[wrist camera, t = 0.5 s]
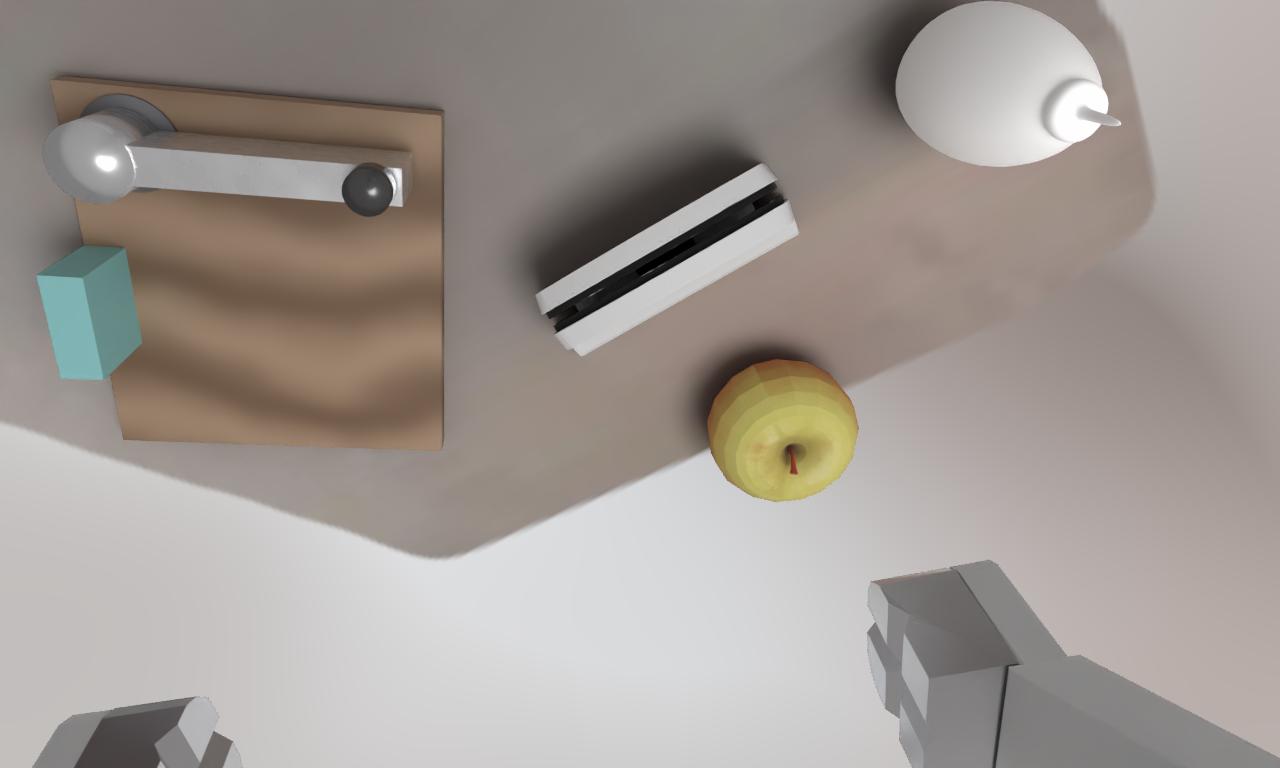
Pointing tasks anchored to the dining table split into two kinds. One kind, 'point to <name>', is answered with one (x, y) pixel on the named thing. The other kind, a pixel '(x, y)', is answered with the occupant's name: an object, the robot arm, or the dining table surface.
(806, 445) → the apple
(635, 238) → the white slotted block
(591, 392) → the dining table surface
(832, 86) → the dining table surface
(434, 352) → the wooden cutting board
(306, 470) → the dining table surface
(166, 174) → the lock bar
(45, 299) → the block
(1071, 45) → the white tall oval piece
